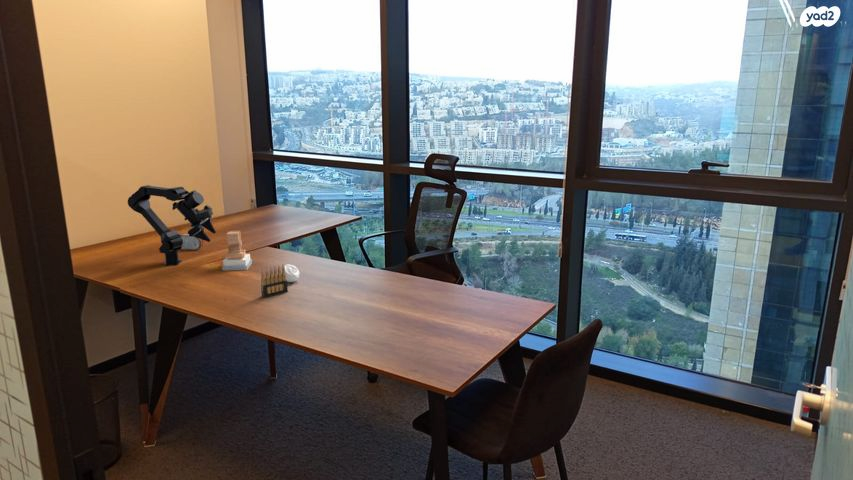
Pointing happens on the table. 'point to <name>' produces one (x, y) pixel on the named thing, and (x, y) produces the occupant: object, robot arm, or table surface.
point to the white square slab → (237, 261)
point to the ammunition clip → (273, 282)
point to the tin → (191, 242)
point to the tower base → (238, 266)
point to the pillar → (235, 245)
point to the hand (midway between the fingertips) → (212, 237)
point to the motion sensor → (291, 273)
